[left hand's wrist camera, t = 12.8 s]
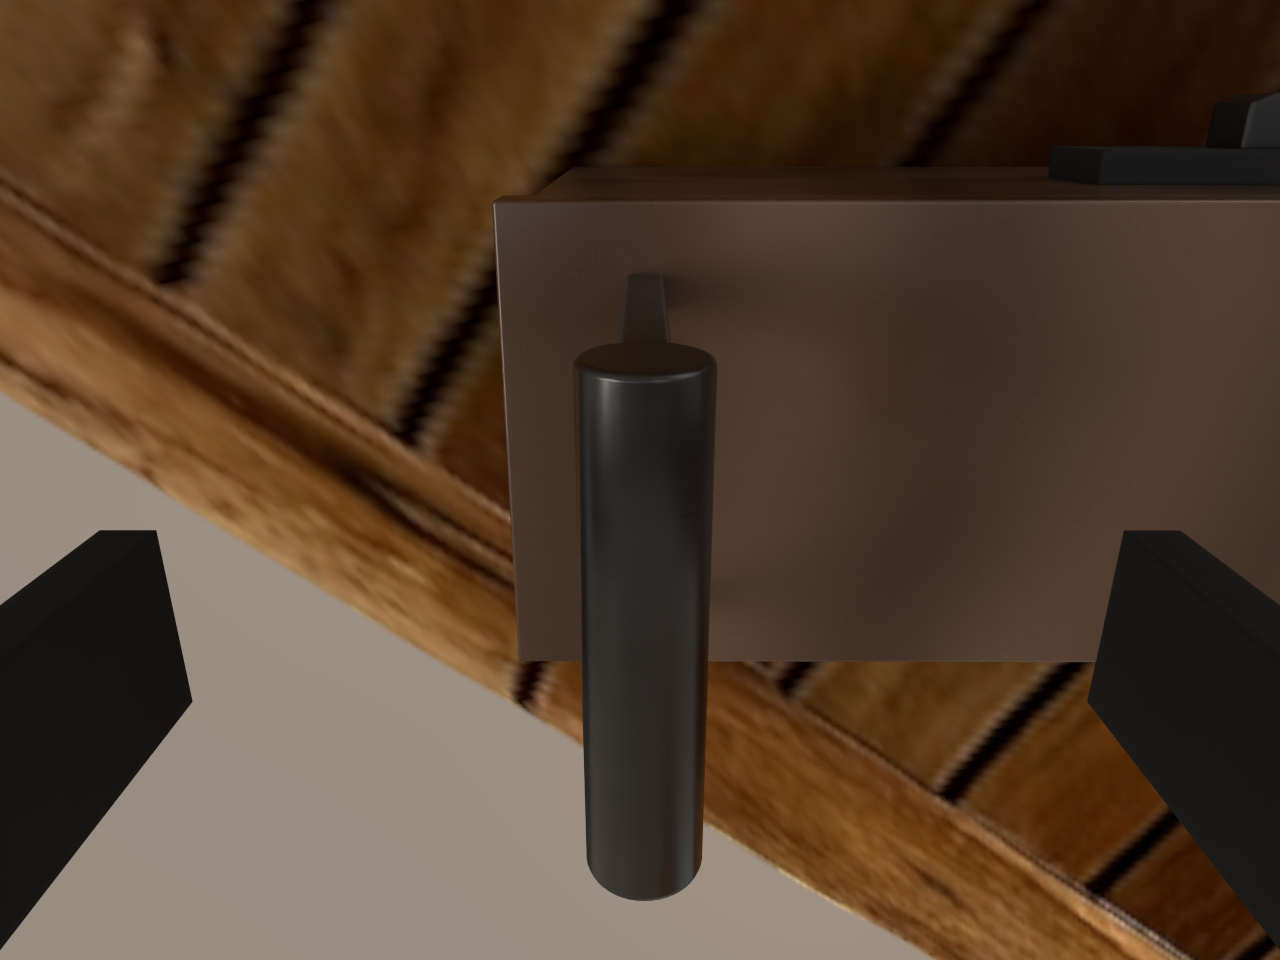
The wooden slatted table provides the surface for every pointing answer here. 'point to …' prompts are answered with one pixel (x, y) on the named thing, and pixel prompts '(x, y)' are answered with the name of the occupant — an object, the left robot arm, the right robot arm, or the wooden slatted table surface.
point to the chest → (857, 183)
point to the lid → (859, 444)
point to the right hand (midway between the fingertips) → (1037, 383)
